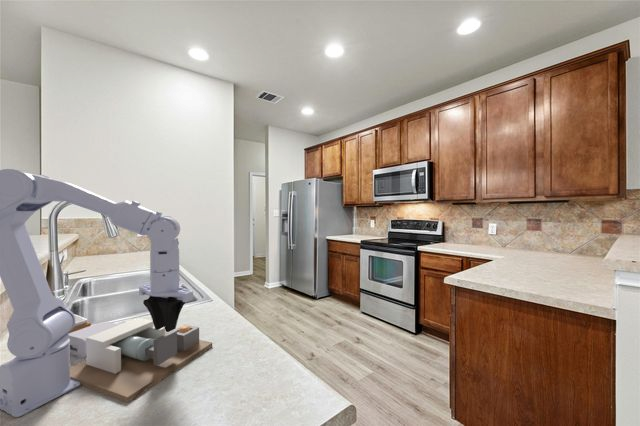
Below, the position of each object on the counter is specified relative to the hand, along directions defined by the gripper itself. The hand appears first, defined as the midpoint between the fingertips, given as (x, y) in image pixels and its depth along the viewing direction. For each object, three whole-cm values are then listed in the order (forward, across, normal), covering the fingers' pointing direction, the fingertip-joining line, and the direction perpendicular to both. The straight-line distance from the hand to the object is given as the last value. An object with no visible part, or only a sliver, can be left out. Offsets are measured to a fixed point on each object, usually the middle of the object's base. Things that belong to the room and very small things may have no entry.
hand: (165, 329), depth 60 cm
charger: (+10, +28, -4) cm, 30 cm away
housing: (+8, +9, -2) cm, 13 cm away
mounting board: (+9, +9, -1) cm, 13 cm away
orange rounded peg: (+8, +4, -8) cm, 12 cm away
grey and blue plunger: (+8, +8, 0) cm, 11 cm away
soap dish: (+10, +43, -1) cm, 44 cm away
